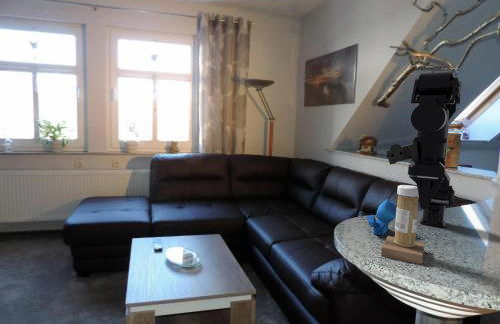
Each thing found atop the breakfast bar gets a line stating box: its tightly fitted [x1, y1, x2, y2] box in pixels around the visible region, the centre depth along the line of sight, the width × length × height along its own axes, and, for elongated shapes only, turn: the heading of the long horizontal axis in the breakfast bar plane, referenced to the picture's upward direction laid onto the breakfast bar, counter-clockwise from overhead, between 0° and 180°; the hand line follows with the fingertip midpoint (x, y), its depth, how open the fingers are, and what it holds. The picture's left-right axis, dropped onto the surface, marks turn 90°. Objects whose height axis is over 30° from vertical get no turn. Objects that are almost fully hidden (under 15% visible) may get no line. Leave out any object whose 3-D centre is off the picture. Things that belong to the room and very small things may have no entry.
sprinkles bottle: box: [394, 184, 419, 247], centre depth 74 cm, size 5×5×13 cm
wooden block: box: [380, 235, 425, 265], centre depth 74 cm, size 9×8×2 cm
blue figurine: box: [365, 198, 397, 237], centre depth 89 cm, size 7×9×12 cm
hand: (424, 204), depth 71 cm, fingers open, 9 cm apart
